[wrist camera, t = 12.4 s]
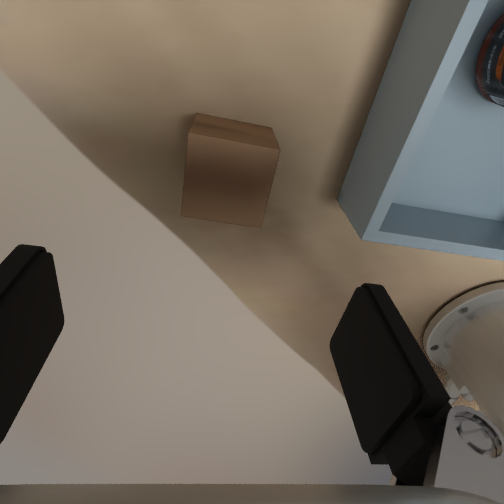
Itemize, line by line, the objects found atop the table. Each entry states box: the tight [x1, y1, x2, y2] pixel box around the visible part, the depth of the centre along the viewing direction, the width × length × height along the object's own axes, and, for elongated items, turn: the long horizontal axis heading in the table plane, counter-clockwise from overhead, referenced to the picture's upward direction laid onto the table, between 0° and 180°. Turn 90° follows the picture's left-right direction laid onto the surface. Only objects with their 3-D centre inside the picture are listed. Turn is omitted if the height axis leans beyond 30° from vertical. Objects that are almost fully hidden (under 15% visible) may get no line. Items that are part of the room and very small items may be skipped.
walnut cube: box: [181, 113, 280, 228], centre depth 21 cm, size 5×5×5 cm
